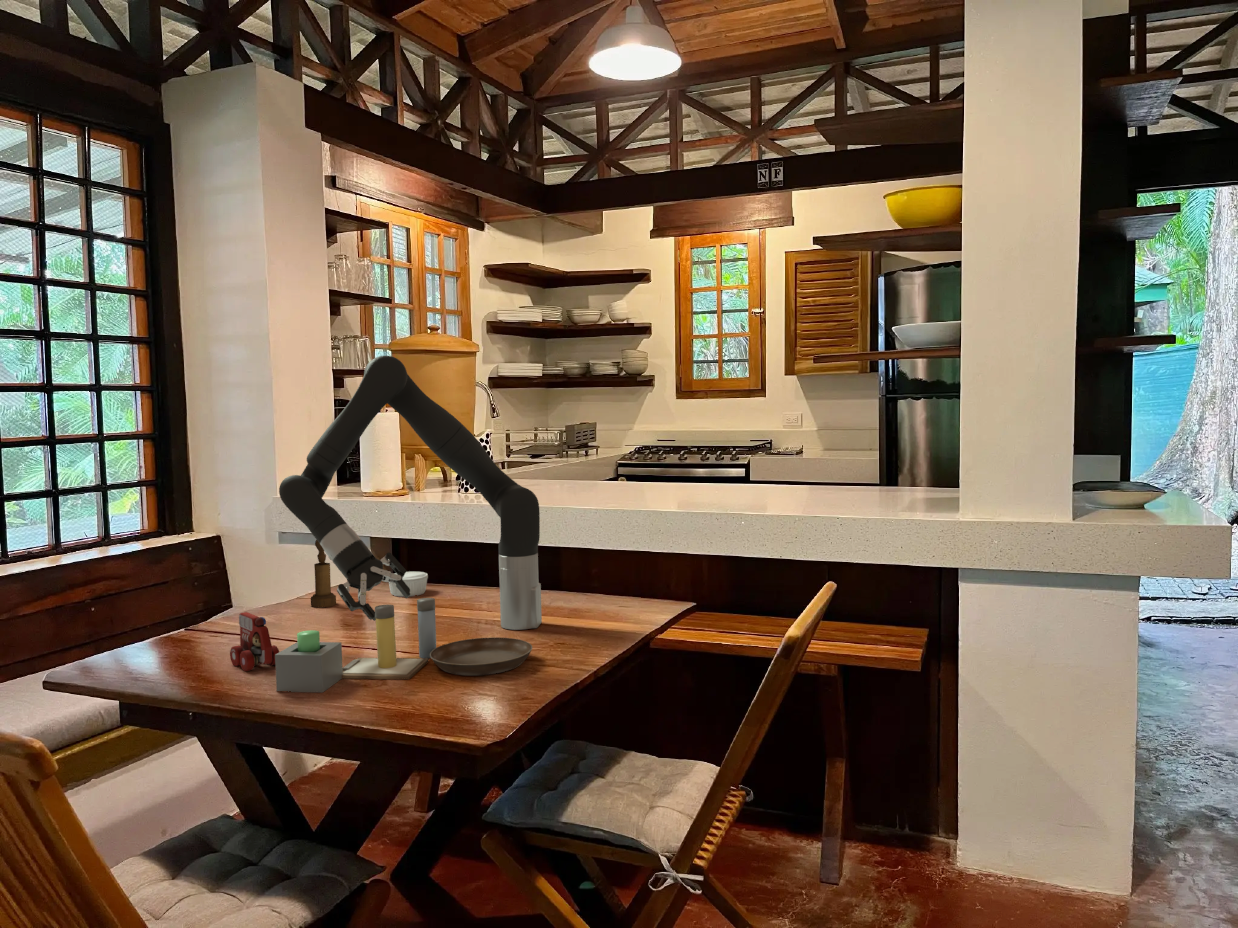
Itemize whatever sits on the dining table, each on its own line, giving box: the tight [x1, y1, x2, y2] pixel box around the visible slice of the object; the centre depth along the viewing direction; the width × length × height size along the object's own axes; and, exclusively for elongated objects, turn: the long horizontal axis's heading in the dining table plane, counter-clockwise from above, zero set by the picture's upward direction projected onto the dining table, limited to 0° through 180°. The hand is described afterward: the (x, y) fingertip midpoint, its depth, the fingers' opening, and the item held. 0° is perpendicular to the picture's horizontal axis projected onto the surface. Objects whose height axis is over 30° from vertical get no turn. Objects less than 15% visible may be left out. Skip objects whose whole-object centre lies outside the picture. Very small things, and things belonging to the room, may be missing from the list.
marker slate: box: [416, 597, 437, 659], centre depth 190 cm, size 4×4×12 cm
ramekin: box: [388, 571, 429, 598], centre depth 254 cm, size 11×11×5 cm
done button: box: [296, 629, 321, 652], centre depth 172 cm, size 4×4×4 cm
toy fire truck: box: [229, 611, 280, 672], centre depth 186 cm, size 7×12×10 cm, turn 44°
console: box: [274, 641, 344, 693], centre depth 173 cm, size 9×9×7 cm
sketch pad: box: [342, 657, 430, 680], centre depth 182 cm, size 15×12×1 cm
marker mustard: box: [374, 604, 397, 668], centre depth 181 cm, size 4×4×12 cm
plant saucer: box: [430, 636, 533, 677], centre depth 184 cm, size 21×21×3 cm
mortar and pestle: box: [310, 539, 337, 608], centre depth 241 cm, size 7×6×18 cm
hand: (392, 607), depth 194 cm, fingers open, 8 cm apart
